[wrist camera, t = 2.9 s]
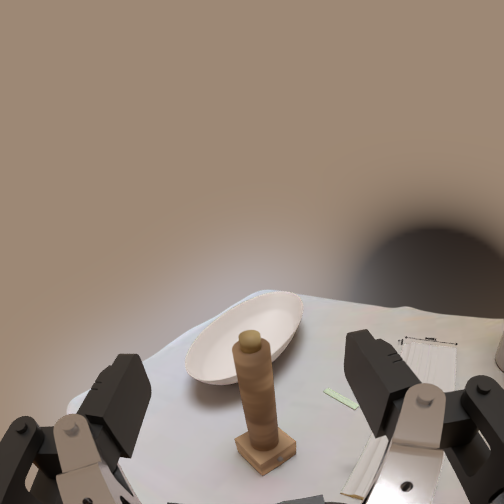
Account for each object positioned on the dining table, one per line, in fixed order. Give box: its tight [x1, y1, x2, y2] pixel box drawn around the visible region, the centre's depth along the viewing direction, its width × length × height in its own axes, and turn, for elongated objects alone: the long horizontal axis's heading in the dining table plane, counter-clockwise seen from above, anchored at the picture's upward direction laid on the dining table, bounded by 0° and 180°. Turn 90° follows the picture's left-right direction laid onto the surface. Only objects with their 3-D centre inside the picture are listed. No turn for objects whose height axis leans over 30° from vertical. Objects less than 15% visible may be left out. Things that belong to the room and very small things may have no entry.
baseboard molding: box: [340, 336, 457, 500], centre depth 28 cm, size 31×3×12 cm
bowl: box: [185, 291, 303, 385], centre depth 47 cm, size 30×15×6 cm, turn 150°
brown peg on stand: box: [232, 330, 296, 476], centre depth 24 cm, size 5×5×18 cm
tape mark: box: [324, 388, 359, 410], centre depth 34 cm, size 1×6×1 cm, turn 36°
